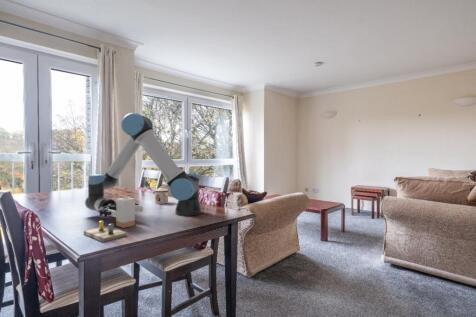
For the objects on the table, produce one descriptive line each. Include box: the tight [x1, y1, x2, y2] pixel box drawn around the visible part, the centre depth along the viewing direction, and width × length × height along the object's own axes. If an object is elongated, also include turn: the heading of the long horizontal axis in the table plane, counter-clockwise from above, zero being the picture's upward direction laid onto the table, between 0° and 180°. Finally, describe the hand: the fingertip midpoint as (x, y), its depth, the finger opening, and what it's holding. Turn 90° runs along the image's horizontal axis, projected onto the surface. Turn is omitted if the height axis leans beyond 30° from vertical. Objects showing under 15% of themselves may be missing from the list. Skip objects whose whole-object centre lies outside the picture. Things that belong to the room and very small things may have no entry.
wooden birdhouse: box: [154, 185, 169, 205], centre depth 188 cm, size 12×9×12 cm
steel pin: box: [107, 222, 114, 234], centre depth 114 cm, size 2×2×4 cm
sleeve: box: [115, 196, 136, 229], centre depth 132 cm, size 6×6×13 cm
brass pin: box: [98, 220, 105, 231], centre depth 119 cm, size 2×2×4 cm
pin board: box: [83, 225, 127, 243], centre depth 117 cm, size 16×10×2 cm, turn 55°
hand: (129, 211), depth 130 cm, fingers open, 13 cm apart
